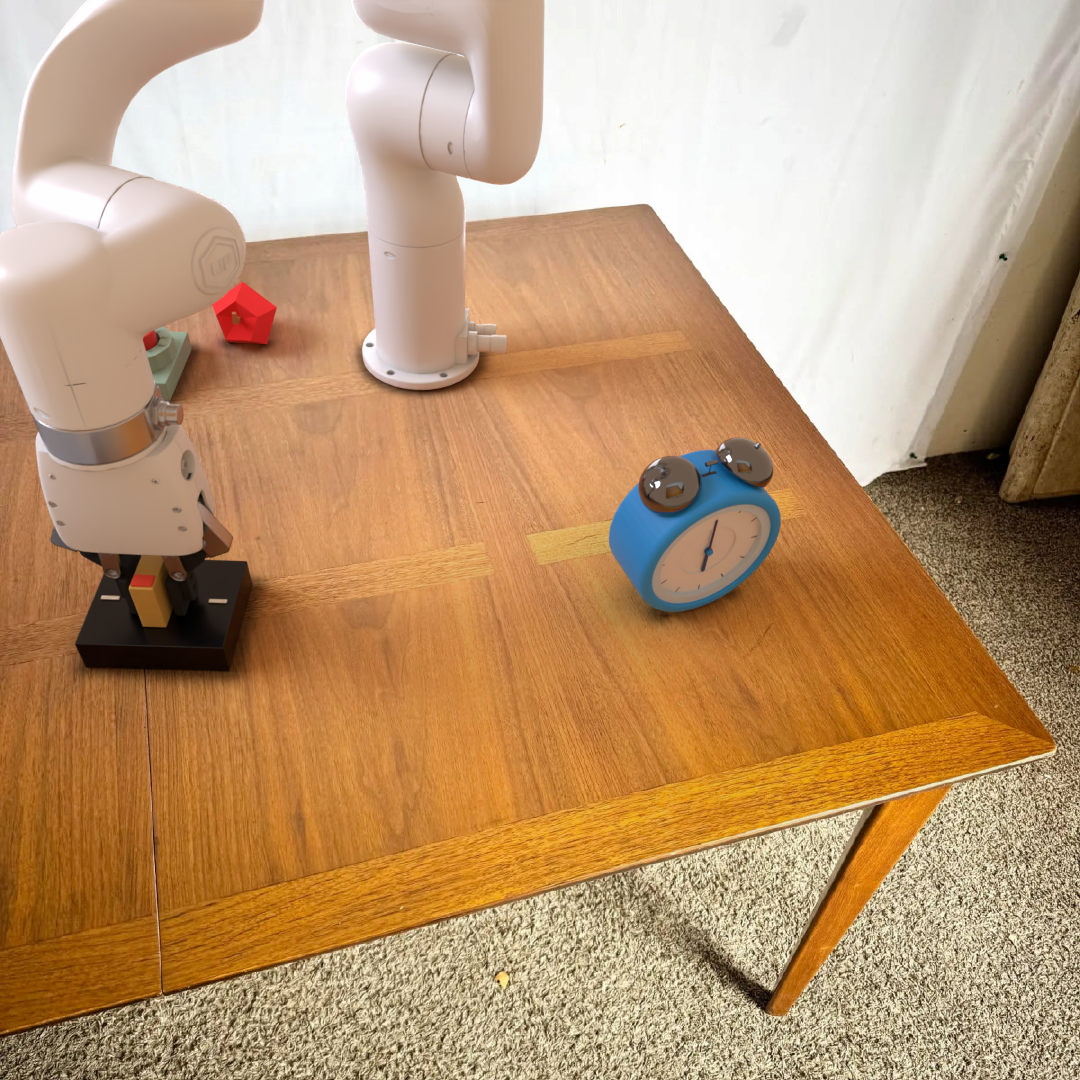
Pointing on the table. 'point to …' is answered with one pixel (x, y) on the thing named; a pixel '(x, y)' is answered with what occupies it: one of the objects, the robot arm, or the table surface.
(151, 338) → the bell button
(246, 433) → the table surface
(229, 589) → the plate
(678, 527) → the alarm clock
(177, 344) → the block
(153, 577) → the lock knob
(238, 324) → the apple
